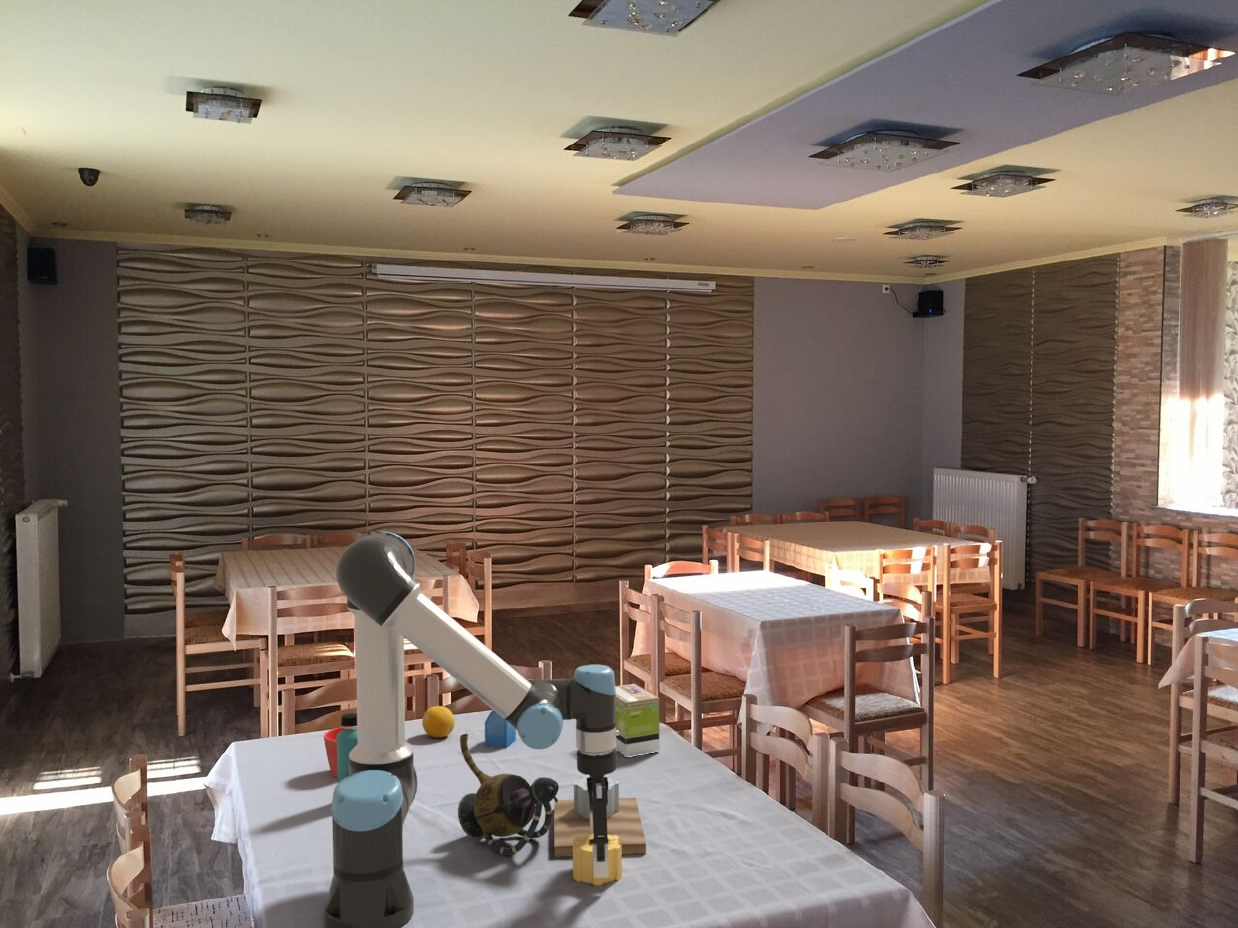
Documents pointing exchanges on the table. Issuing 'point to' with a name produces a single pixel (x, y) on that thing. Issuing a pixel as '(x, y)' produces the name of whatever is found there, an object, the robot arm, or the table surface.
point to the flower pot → (332, 748)
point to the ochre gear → (585, 860)
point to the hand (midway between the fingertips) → (599, 860)
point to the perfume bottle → (498, 731)
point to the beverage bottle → (346, 744)
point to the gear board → (619, 824)
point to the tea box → (636, 720)
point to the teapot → (505, 806)
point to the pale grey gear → (583, 797)
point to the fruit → (438, 721)
